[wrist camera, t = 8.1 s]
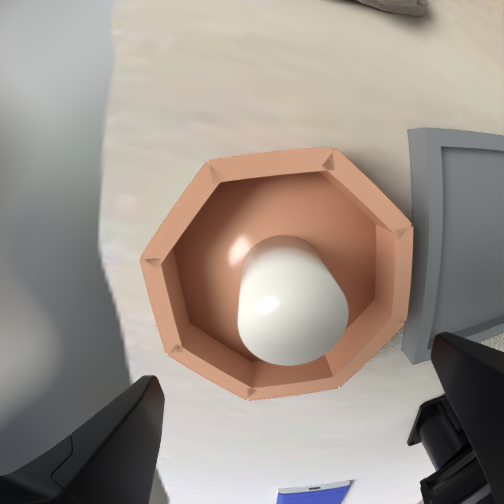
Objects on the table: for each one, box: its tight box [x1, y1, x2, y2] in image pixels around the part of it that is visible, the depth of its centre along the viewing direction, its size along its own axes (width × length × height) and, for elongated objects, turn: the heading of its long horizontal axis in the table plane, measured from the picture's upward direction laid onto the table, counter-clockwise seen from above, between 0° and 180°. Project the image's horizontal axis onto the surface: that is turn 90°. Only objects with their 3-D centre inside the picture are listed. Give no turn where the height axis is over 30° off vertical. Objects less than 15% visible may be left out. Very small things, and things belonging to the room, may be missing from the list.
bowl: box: [140, 147, 413, 401], centre depth 16 cm, size 13×13×4 cm
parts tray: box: [402, 128, 504, 365], centre depth 16 cm, size 15×15×2 cm
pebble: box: [238, 235, 349, 366], centre depth 14 cm, size 4×4×5 cm
